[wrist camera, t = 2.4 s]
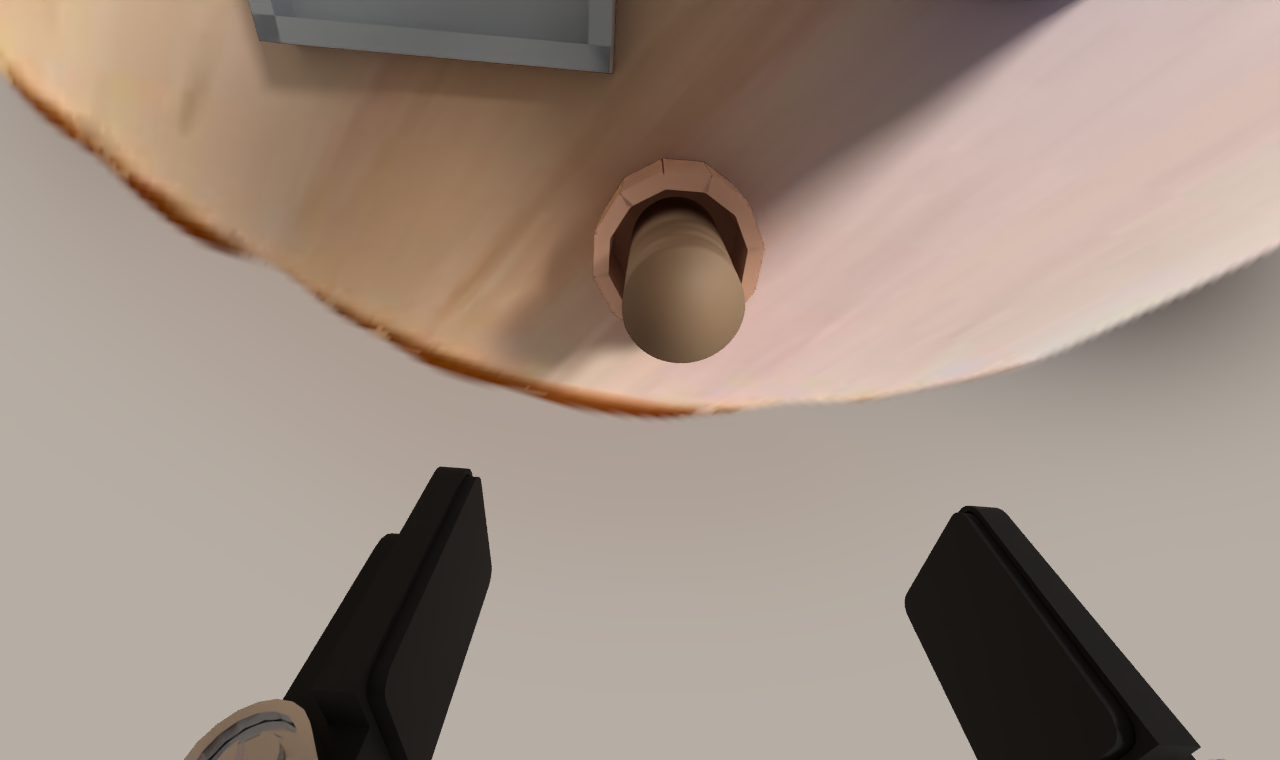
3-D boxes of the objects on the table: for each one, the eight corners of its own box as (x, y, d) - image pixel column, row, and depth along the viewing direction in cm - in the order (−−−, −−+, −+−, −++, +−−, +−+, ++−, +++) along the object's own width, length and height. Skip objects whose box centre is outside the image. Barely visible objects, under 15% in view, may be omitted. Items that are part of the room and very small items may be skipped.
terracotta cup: (760, 167, 27) (779, 180, 23) (733, 311, 31) (744, 343, 27) (604, 153, 26) (596, 165, 23) (599, 300, 31) (591, 331, 27)
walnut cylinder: (724, 200, 27) (756, 254, 18) (710, 286, 30) (733, 367, 21) (634, 192, 27) (625, 242, 18) (628, 279, 29) (618, 358, 21)
